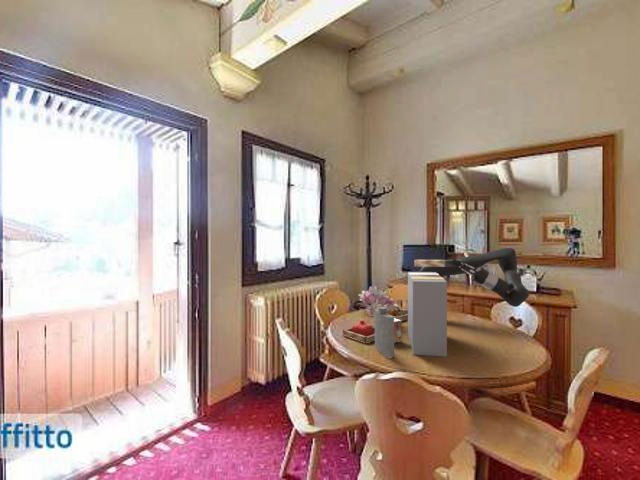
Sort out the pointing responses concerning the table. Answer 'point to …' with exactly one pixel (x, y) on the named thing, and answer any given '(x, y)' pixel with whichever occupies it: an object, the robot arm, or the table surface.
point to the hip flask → (384, 332)
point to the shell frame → (402, 317)
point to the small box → (397, 330)
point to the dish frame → (359, 337)
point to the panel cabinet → (427, 313)
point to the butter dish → (363, 329)
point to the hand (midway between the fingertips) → (452, 260)
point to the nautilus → (394, 311)
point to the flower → (380, 298)
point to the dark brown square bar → (435, 263)
